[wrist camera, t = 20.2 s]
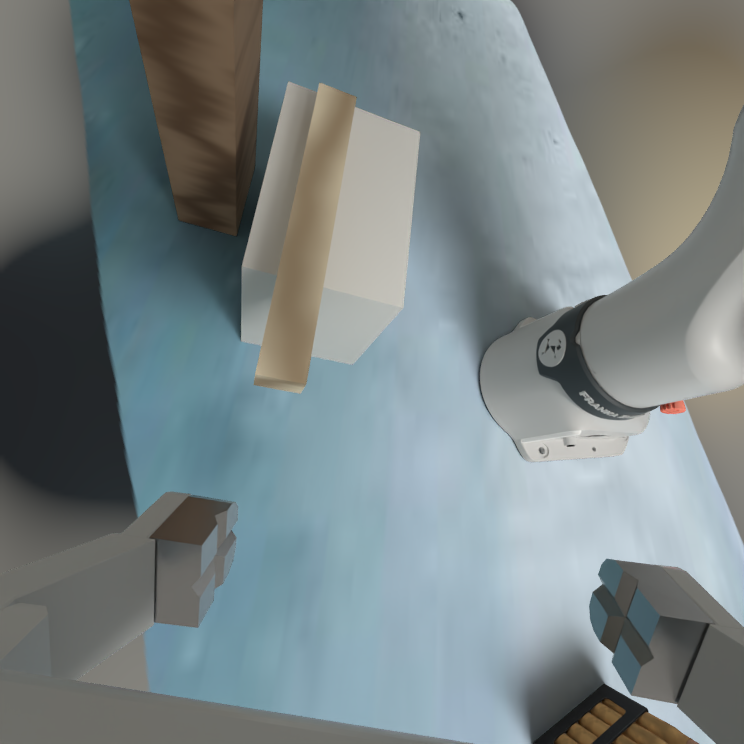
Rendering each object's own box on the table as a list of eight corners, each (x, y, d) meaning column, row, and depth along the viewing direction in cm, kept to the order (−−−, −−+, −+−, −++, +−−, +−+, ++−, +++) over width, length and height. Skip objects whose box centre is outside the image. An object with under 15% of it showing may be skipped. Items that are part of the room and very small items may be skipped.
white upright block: (370, 230, 50) (420, 132, 36) (352, 364, 44) (403, 308, 30) (274, 201, 47) (288, 81, 33) (240, 341, 41) (241, 266, 27)
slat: (348, 123, 34) (356, 97, 32) (300, 393, 26) (306, 384, 24) (314, 110, 33) (319, 82, 31) (253, 384, 25) (255, 374, 23)
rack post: (255, 166, 47) (270, -161, 24) (236, 236, 44) (232, -60, 20) (201, 149, 46) (161, -218, 22) (178, 220, 43) (102, -120, 19)
